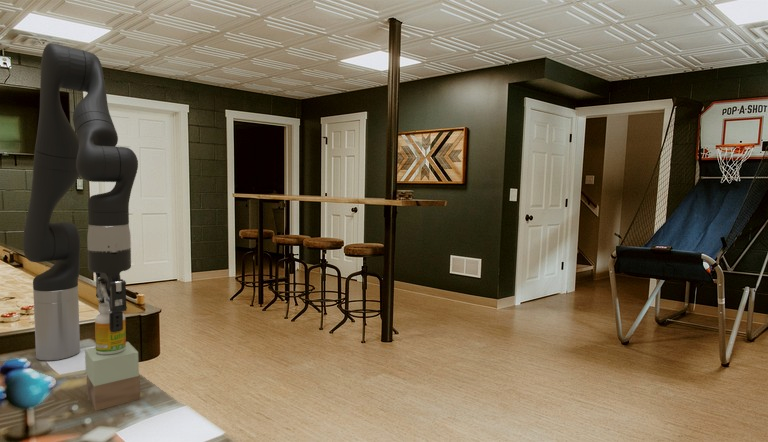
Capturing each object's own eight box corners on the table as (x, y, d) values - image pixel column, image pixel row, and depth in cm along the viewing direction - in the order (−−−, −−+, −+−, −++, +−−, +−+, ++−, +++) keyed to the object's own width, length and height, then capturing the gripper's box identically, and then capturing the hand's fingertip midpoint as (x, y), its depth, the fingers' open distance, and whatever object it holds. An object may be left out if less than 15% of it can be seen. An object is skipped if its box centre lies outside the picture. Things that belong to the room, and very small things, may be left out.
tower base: (87, 396, 100) (86, 373, 99) (129, 385, 105) (129, 363, 104) (95, 411, 94) (94, 386, 93) (140, 399, 99) (139, 375, 99)
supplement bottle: (112, 356, 95) (110, 308, 94) (89, 353, 96) (87, 306, 96) (131, 347, 100) (131, 301, 100) (110, 345, 102) (109, 299, 101)
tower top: (85, 373, 99) (85, 349, 99) (128, 363, 104) (127, 341, 104) (93, 386, 93) (93, 361, 93) (138, 375, 98) (138, 352, 98)
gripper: (80, 243, 99) (82, 320, 101) (95, 253, 88) (97, 339, 90) (121, 241, 104) (122, 314, 105) (139, 250, 93) (141, 331, 95)
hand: (111, 325), depth 98 cm, fingers open, 8 cm apart
